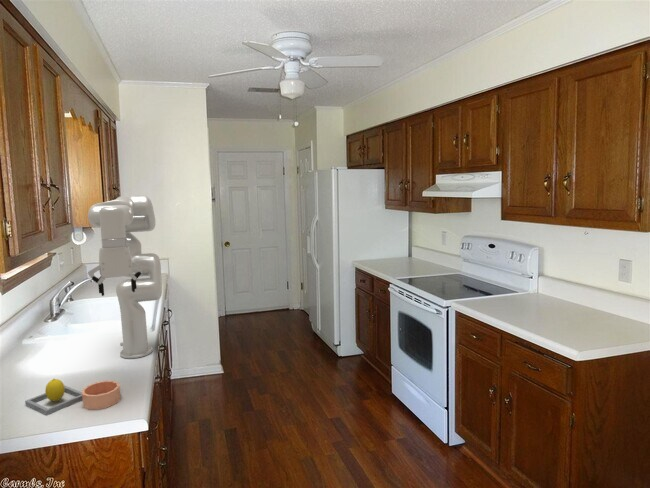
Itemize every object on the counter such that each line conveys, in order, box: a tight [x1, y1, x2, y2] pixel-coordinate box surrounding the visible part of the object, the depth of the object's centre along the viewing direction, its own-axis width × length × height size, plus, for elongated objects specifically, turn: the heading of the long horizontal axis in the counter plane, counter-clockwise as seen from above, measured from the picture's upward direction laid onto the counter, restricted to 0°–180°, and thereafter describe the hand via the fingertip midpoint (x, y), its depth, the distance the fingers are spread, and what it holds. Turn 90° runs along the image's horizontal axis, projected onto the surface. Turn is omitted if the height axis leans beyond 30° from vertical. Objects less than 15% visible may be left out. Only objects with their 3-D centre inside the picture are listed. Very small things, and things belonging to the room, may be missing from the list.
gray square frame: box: [24, 384, 83, 416], centre depth 157 cm, size 13×13×2 cm
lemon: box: [44, 378, 66, 403], centre depth 156 cm, size 6×6×8 cm
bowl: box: [81, 380, 122, 410], centre depth 157 cm, size 11×11×4 cm
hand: (118, 293), depth 162 cm, fingers open, 9 cm apart
